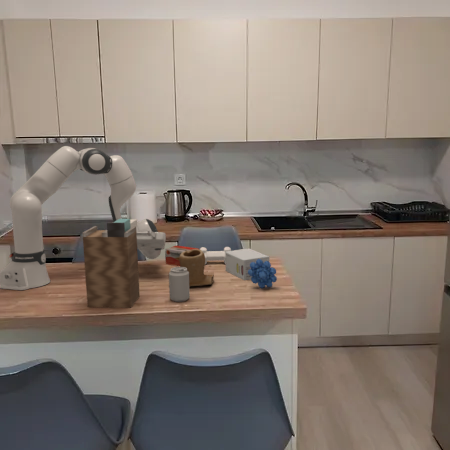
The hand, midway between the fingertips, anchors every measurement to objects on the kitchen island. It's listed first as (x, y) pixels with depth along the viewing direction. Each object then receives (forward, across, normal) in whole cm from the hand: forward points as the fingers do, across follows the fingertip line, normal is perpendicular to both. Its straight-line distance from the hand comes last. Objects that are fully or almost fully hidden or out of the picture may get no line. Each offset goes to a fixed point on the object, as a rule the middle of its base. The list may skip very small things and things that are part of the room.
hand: (137, 232), depth 194 cm
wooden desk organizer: (+9, -3, +31) cm, 32 cm away
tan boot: (-9, +24, +20) cm, 33 cm away
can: (+6, +20, +29) cm, 36 cm away
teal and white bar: (+18, 0, +5) cm, 18 cm away
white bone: (-39, +29, +3) cm, 48 cm away
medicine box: (-37, +13, +4) cm, 39 cm away
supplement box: (-25, +44, +11) cm, 52 cm away
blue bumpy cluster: (-6, +52, +21) cm, 56 cm away
